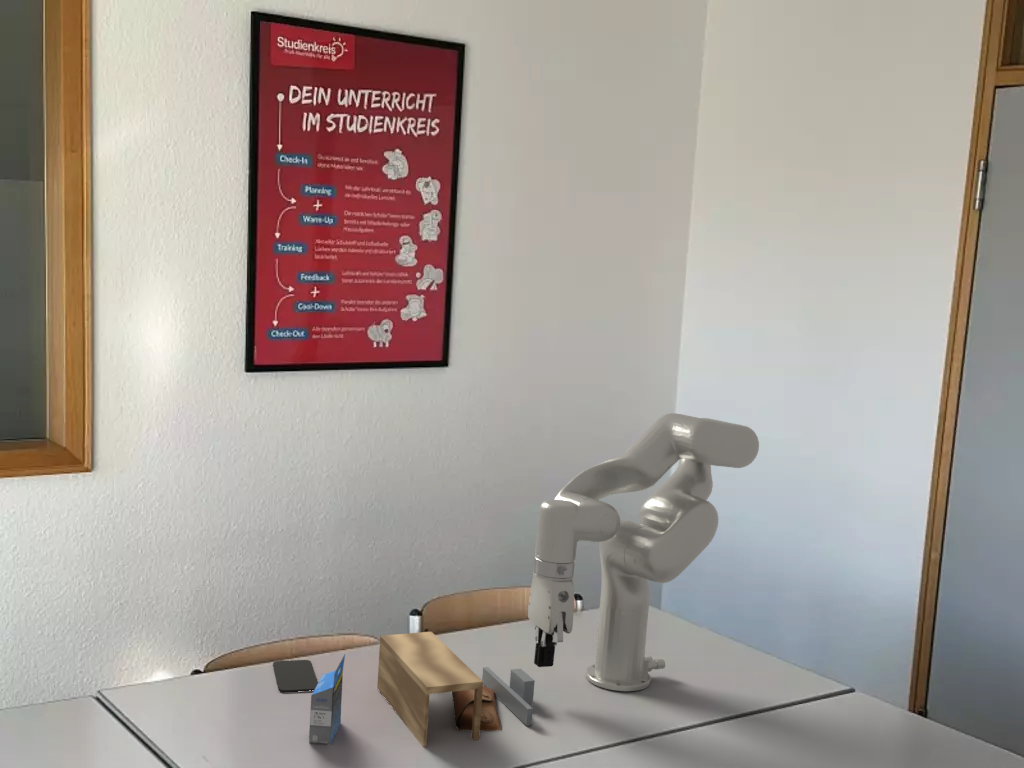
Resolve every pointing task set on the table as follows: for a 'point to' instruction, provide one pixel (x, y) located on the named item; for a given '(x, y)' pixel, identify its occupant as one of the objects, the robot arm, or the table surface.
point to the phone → (295, 675)
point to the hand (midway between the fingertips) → (543, 664)
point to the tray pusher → (513, 692)
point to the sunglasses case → (464, 710)
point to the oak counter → (423, 678)
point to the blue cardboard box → (326, 707)
